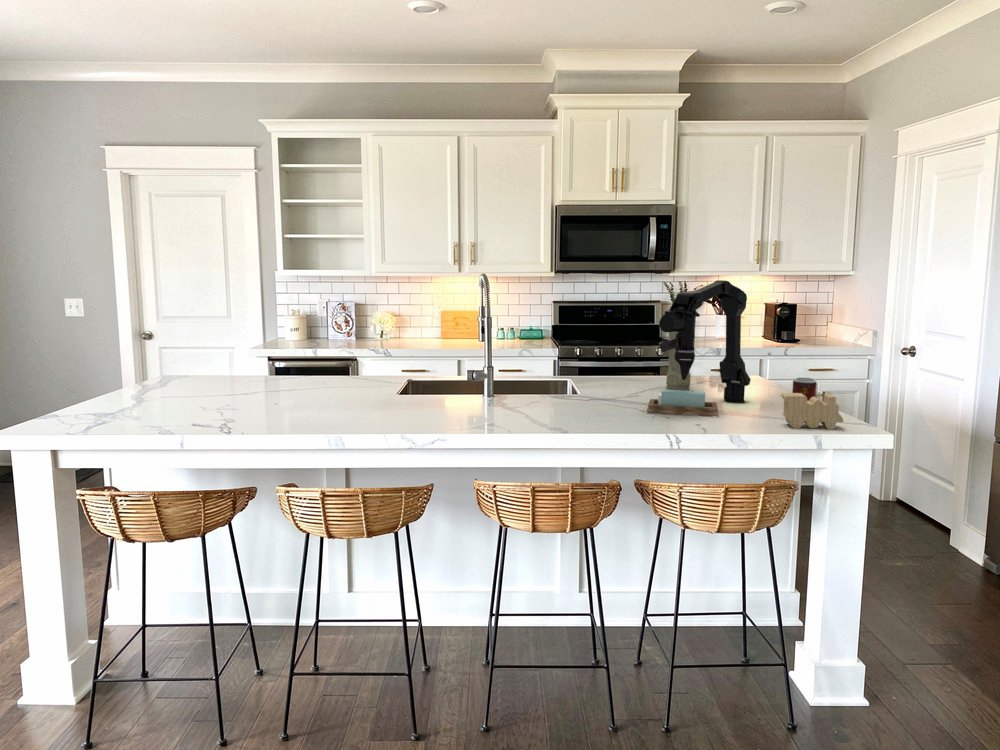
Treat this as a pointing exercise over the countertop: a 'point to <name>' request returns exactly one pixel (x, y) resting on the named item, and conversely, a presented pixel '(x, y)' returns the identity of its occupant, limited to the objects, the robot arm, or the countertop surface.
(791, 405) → the toy train
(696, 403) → the pale blue block
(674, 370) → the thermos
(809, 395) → the soda can
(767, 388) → the countertop surface
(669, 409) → the tray
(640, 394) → the countertop surface
